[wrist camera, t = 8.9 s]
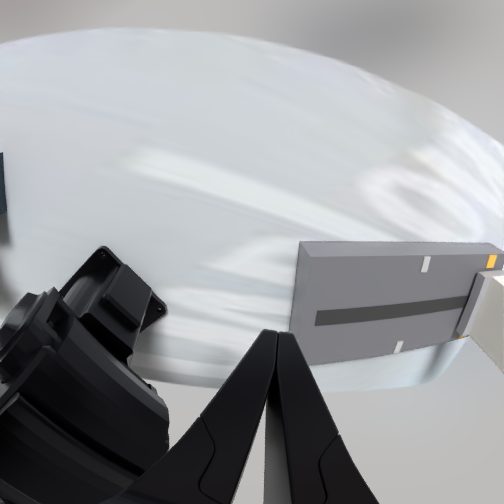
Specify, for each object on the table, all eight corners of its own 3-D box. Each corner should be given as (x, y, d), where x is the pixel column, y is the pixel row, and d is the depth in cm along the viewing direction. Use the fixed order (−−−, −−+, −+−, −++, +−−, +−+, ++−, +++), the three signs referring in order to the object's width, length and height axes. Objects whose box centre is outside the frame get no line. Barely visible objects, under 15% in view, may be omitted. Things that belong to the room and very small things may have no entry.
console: (287, 345, 24) (293, 368, 21) (299, 241, 20) (311, 257, 18) (463, 321, 26) (476, 334, 24) (490, 243, 23) (507, 253, 20)
